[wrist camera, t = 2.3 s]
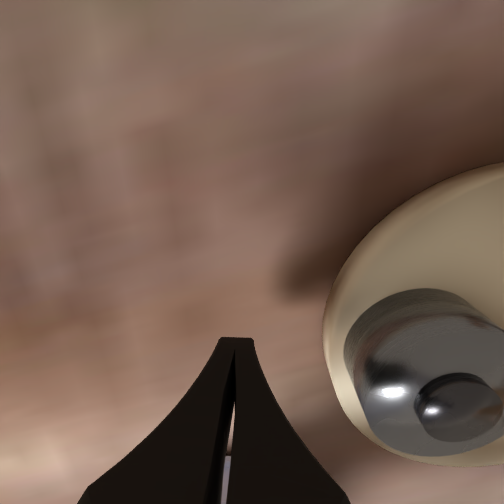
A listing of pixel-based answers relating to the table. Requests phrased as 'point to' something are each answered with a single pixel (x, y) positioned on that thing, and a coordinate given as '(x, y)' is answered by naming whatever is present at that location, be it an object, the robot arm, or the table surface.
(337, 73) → the table surface
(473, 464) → the turntable
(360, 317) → the iron cover
